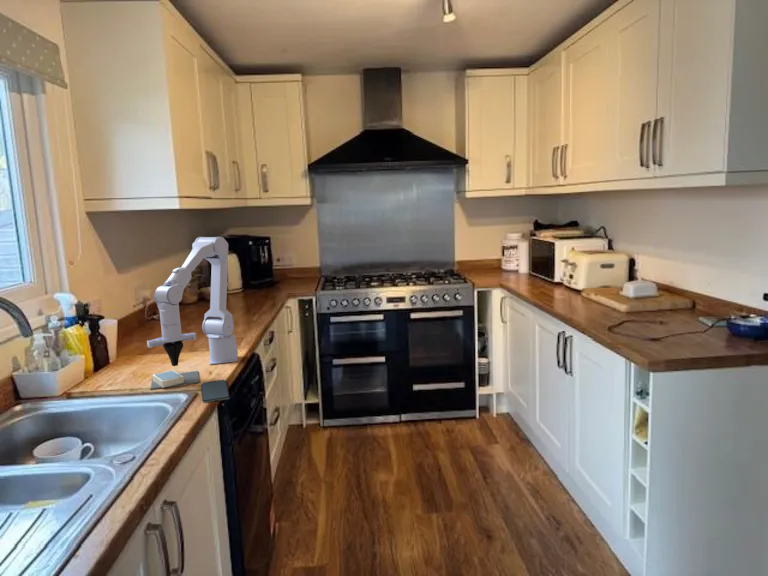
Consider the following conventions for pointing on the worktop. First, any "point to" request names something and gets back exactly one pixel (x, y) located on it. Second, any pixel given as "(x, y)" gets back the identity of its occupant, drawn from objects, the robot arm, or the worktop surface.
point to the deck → (168, 378)
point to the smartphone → (214, 391)
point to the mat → (188, 379)
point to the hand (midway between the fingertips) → (174, 365)
